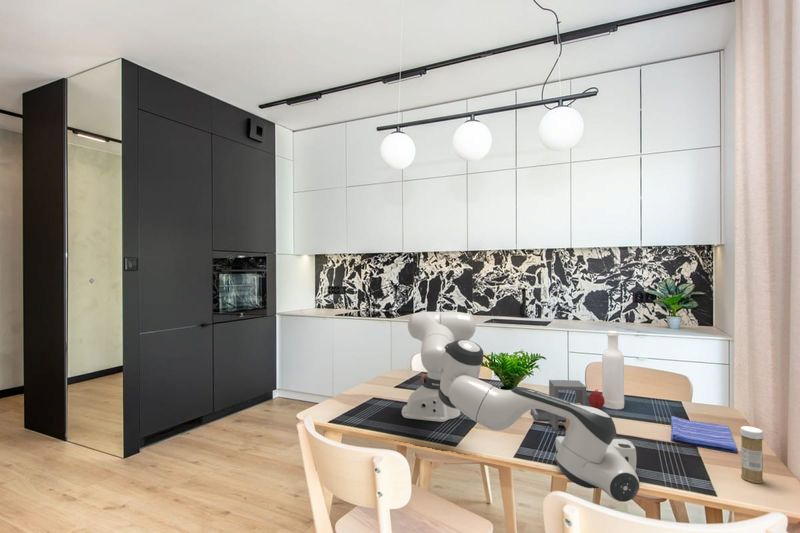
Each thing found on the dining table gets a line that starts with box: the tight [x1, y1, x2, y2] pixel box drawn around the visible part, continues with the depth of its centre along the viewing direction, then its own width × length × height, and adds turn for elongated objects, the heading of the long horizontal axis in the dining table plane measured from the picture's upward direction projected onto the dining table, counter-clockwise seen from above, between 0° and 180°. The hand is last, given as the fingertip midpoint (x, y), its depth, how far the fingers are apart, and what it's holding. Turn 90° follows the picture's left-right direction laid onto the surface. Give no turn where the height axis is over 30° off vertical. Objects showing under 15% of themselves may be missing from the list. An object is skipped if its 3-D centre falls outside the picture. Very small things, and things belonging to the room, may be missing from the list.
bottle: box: [601, 330, 625, 410], centre depth 170 cm, size 8×8×30 cm
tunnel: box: [548, 379, 587, 431], centre depth 149 cm, size 10×8×15 cm
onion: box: [587, 388, 605, 410], centre depth 166 cm, size 6×6×8 cm
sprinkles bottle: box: [739, 425, 764, 484], centre depth 112 cm, size 5×5×14 cm
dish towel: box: [670, 415, 738, 454], centre depth 141 cm, size 17×24×3 cm
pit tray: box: [530, 409, 566, 423], centre depth 158 cm, size 20×9×2 cm, turn 83°
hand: (586, 436), depth 127 cm, fingers open, 8 cm apart
